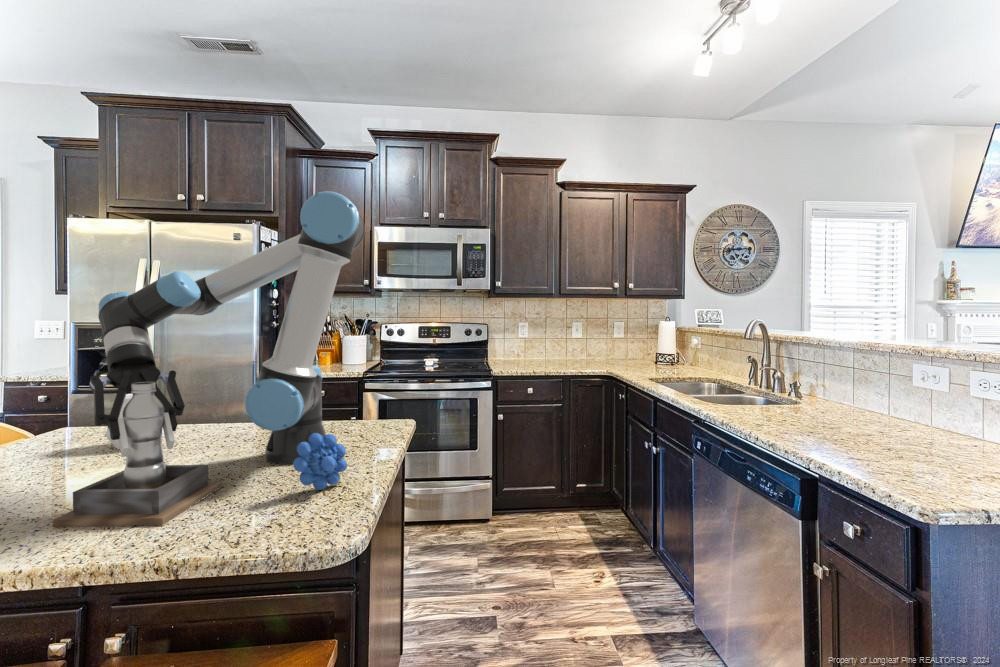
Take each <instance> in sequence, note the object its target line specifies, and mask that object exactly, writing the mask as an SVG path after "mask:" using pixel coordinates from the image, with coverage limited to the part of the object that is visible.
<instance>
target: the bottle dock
mask: <svg viewBox="0 0 1000 667" xmlns="http://www.w3.org/2000/svg"><path fill="white" fill-rule="evenodd" d="M165 467H166V476H165V480H164V482H163V483H162V484H161V485H160V486H158V487H155V488H152V489H127V488H126V487H125V485H124V480H123V476H124V470H122V471H119V472H117V473H115V474H113V475H110V476H107V477H105V478H103V479H100V480H98V481H96V482H93V483H91V484H89V485H86V486H83V487H82V488H79V489H76V490H74V491H72V510H71V511H69V512H67V513H64V514H62V515H60V516H58V517H56V518H54V519H52V527H53V528H55V527H57V528H58V527H59V528H63V527H67V528H68V527H69V526H72V527H117V526H118V527H123V526H124V527H125V526H130V525H139V526H163V524H164V525H165V524H166V522H167V523H168V522H170V521H172V520H173V519H175V518H176V517H177V515H178V516H179V515H181V514H182V513H184V512H185V511H187V510H188V509H187V508H189V507H190V506H192V505H193V504H195V503H196V502H198V501H199V500H201V499H202V498H204V497H206V496H207V495H208V494H210V493H212V492H213V491H215V490H216V491H218V490H219V489H221V488H223V480H209V464H172V465H171V464H170V465H169V464H165ZM220 487H221V488H220ZM218 488H219V489H218ZM217 489H218V490H217ZM216 491H215V492H216ZM213 493H214V492H213ZM213 493H212V494H213ZM210 495H211V494H210ZM207 497H208V496H207ZM207 497H206V498H207ZM204 499H205V498H204ZM202 500H203V499H202ZM202 500H201V501H202ZM199 502H200V501H199ZM199 502H198V503H199ZM196 504H197V503H196ZM196 504H195V505H196ZM193 506H194V505H193ZM193 506H192V507H193ZM190 508H191V507H190ZM190 508H189V509H190ZM186 509H187V510H186ZM183 511H184V512H183ZM180 513H181V514H180ZM175 516H176V517H175ZM174 517H175V518H174ZM172 518H173V519H172ZM169 520H170V521H169Z"/></svg>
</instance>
